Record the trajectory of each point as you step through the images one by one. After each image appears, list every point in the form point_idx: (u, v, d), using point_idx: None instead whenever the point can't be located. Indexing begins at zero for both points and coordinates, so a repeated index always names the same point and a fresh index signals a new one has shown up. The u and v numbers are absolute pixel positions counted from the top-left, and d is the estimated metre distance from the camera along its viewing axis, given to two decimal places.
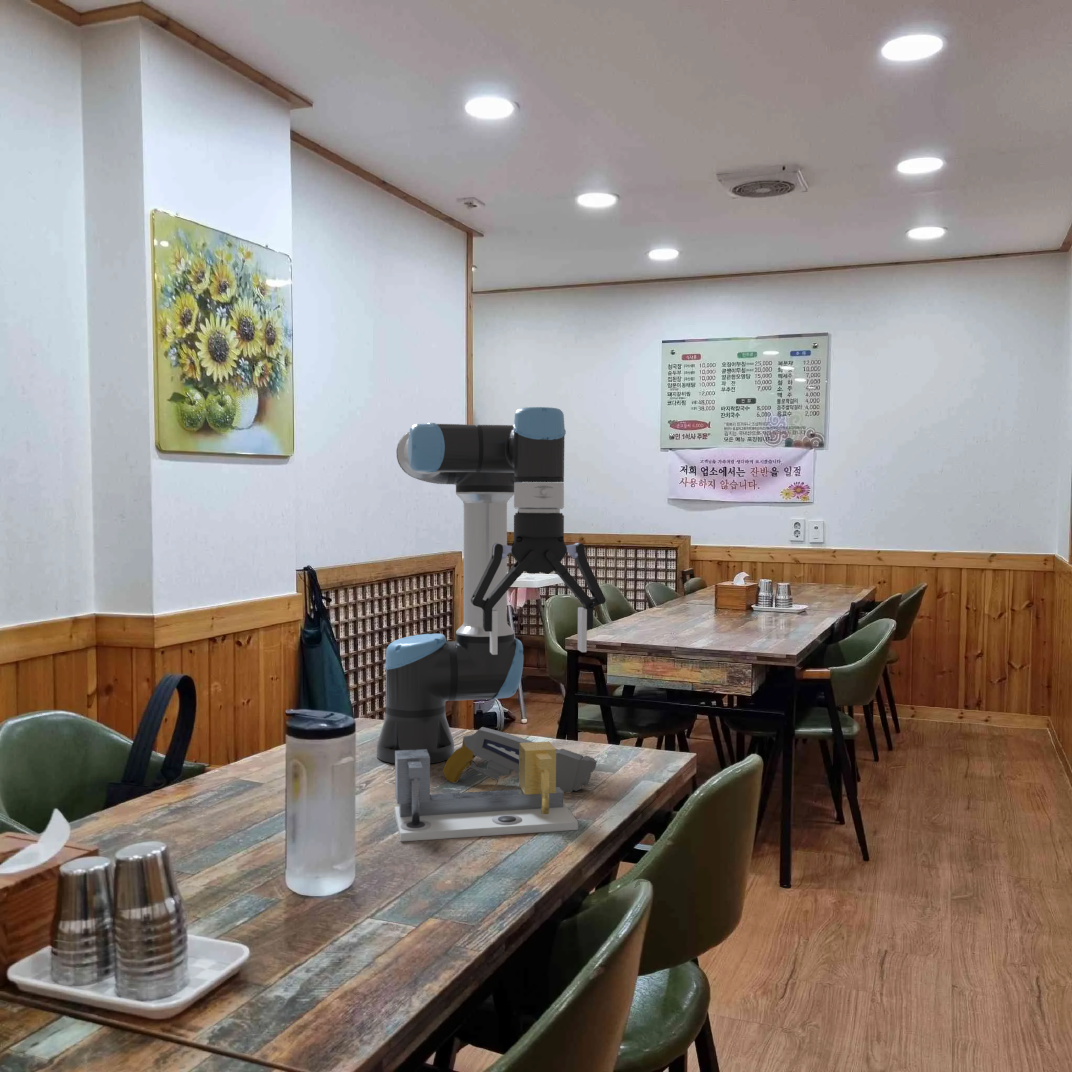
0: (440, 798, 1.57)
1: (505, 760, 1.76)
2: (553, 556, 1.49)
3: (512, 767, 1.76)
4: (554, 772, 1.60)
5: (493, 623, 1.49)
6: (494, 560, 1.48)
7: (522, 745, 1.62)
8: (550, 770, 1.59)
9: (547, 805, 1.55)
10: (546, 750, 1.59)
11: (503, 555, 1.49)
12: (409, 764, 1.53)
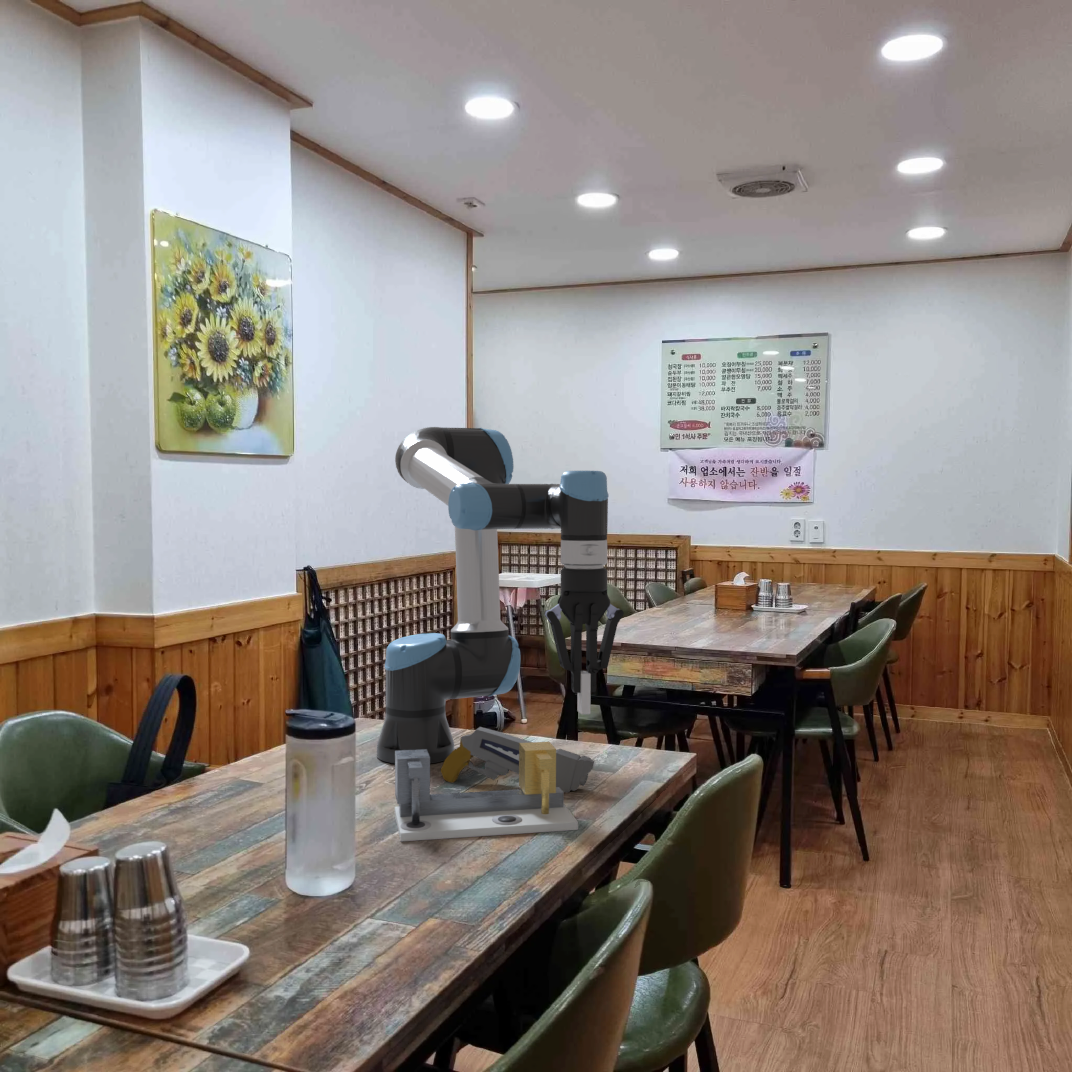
0: (440, 798, 1.57)
1: (503, 760, 1.76)
2: (598, 609, 1.60)
3: (510, 767, 1.76)
4: (554, 772, 1.60)
5: (582, 685, 1.61)
6: (555, 626, 1.60)
7: (522, 745, 1.62)
8: (550, 770, 1.59)
9: (547, 805, 1.55)
10: (546, 750, 1.59)
11: (558, 617, 1.60)
12: (409, 764, 1.53)
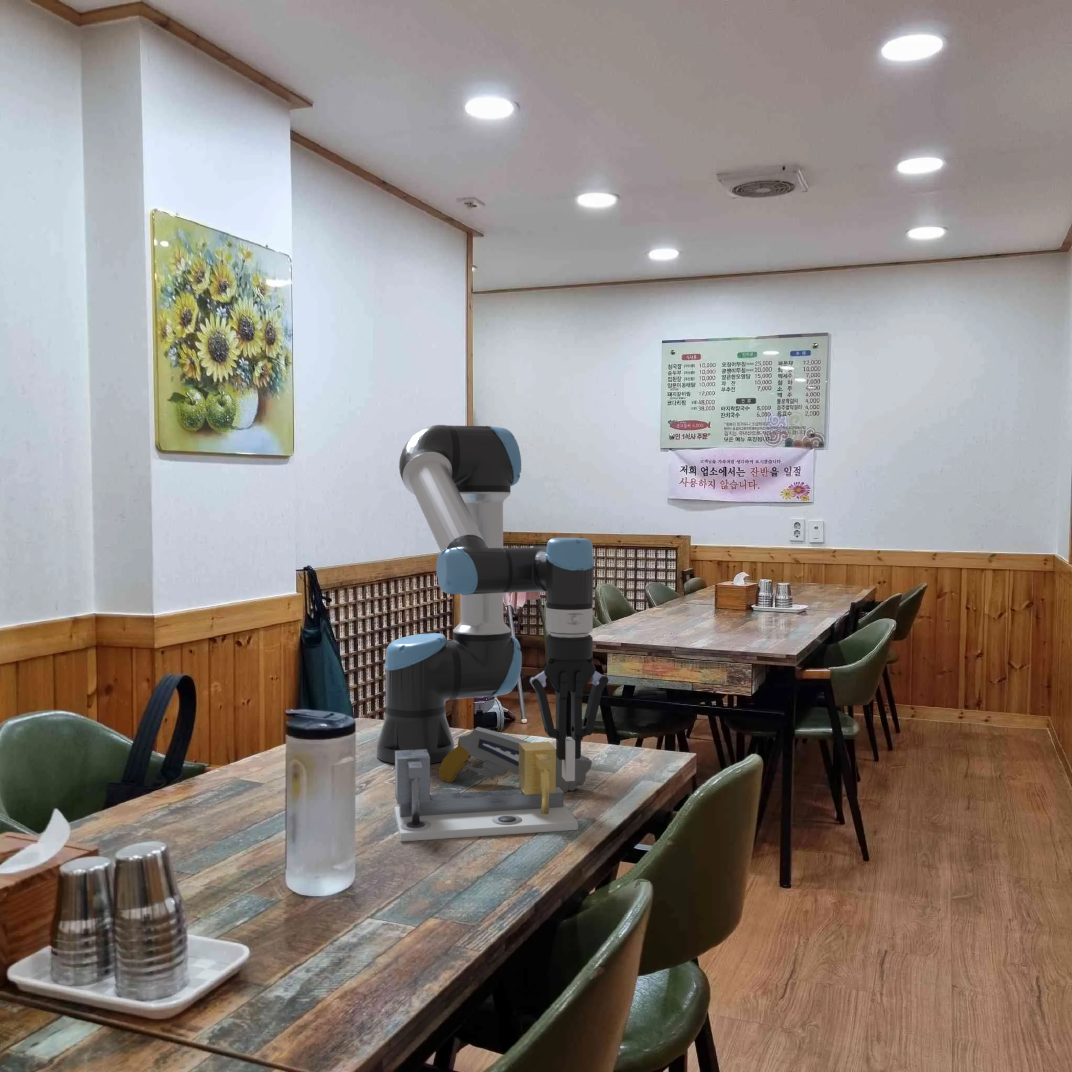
0: (440, 798, 1.57)
1: (501, 760, 1.76)
2: (583, 676, 1.60)
3: (507, 767, 1.76)
4: (554, 772, 1.59)
5: (566, 752, 1.61)
6: (540, 694, 1.60)
7: (522, 745, 1.62)
8: (550, 770, 1.59)
9: (547, 805, 1.55)
10: (546, 750, 1.59)
11: (543, 685, 1.60)
12: (409, 764, 1.53)
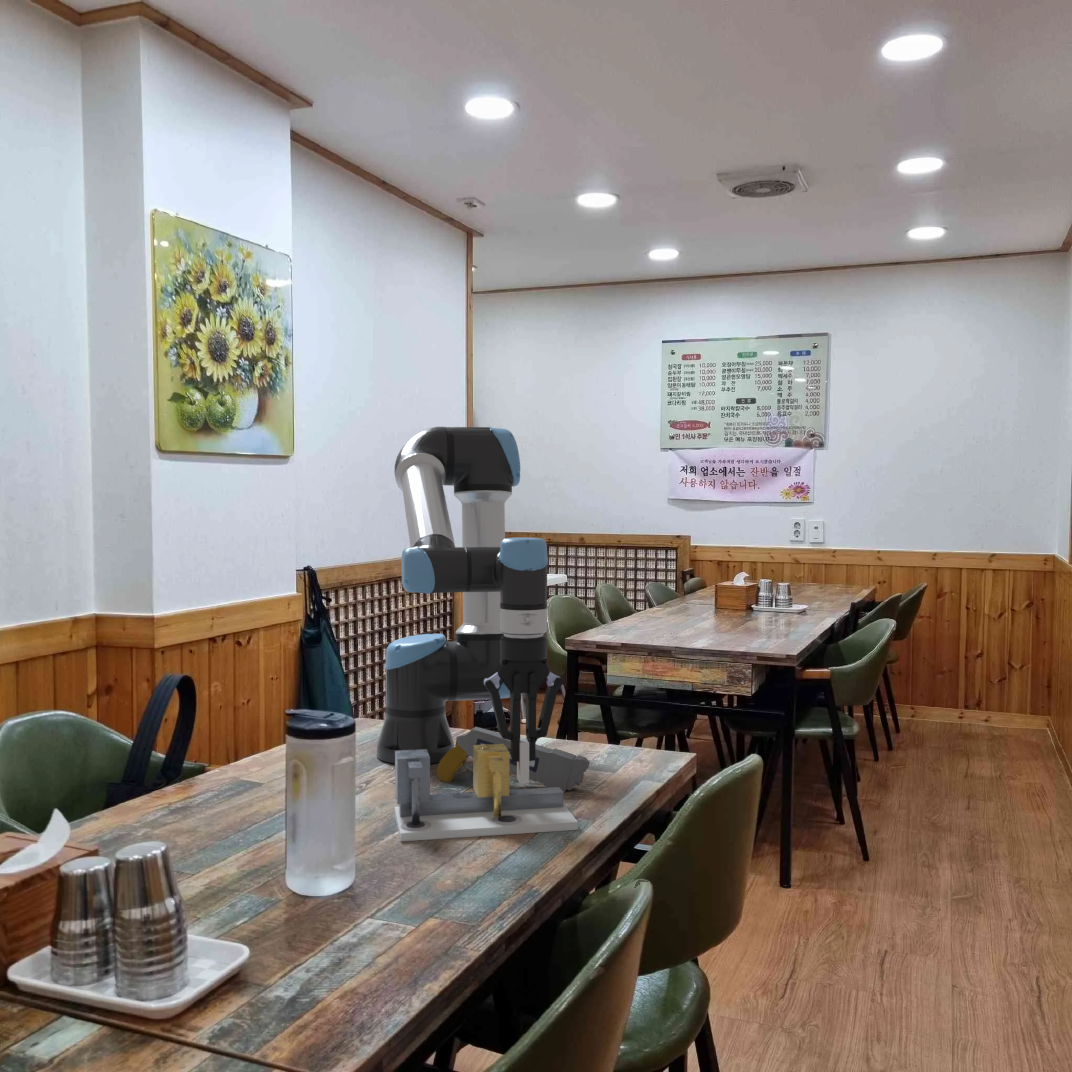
0: (440, 798, 1.57)
1: None
2: (537, 678, 1.59)
3: None
4: (507, 775, 1.58)
5: (521, 754, 1.59)
6: (493, 695, 1.58)
7: (476, 747, 1.60)
8: (503, 772, 1.58)
9: (499, 808, 1.54)
10: (499, 752, 1.58)
11: (496, 686, 1.58)
12: (409, 764, 1.53)
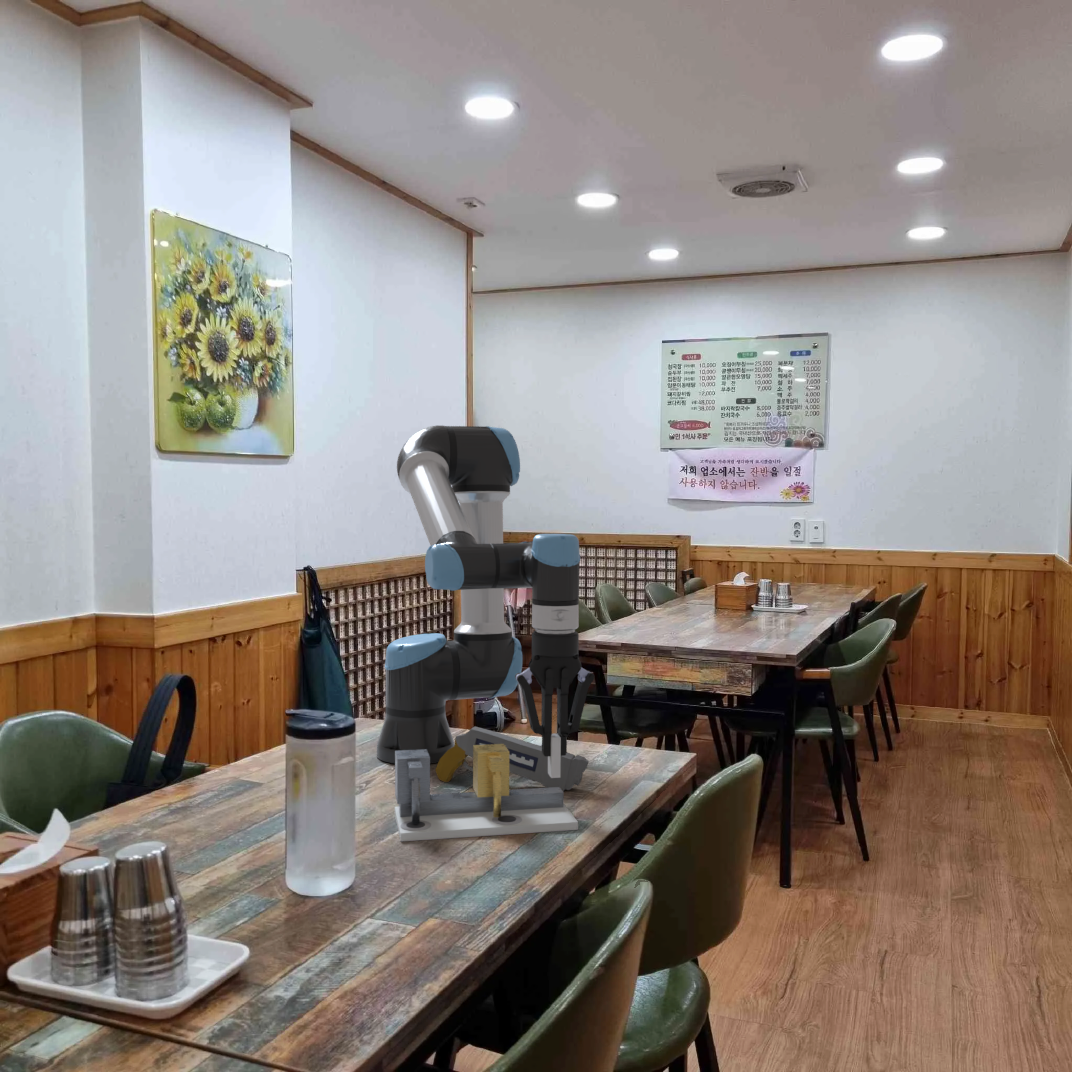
0: (440, 798, 1.57)
1: None
2: (568, 673, 1.60)
3: None
4: (507, 775, 1.58)
5: (552, 749, 1.61)
6: (525, 690, 1.59)
7: (476, 747, 1.60)
8: (503, 772, 1.58)
9: (499, 808, 1.54)
10: (499, 752, 1.58)
11: (528, 681, 1.59)
12: (409, 764, 1.53)
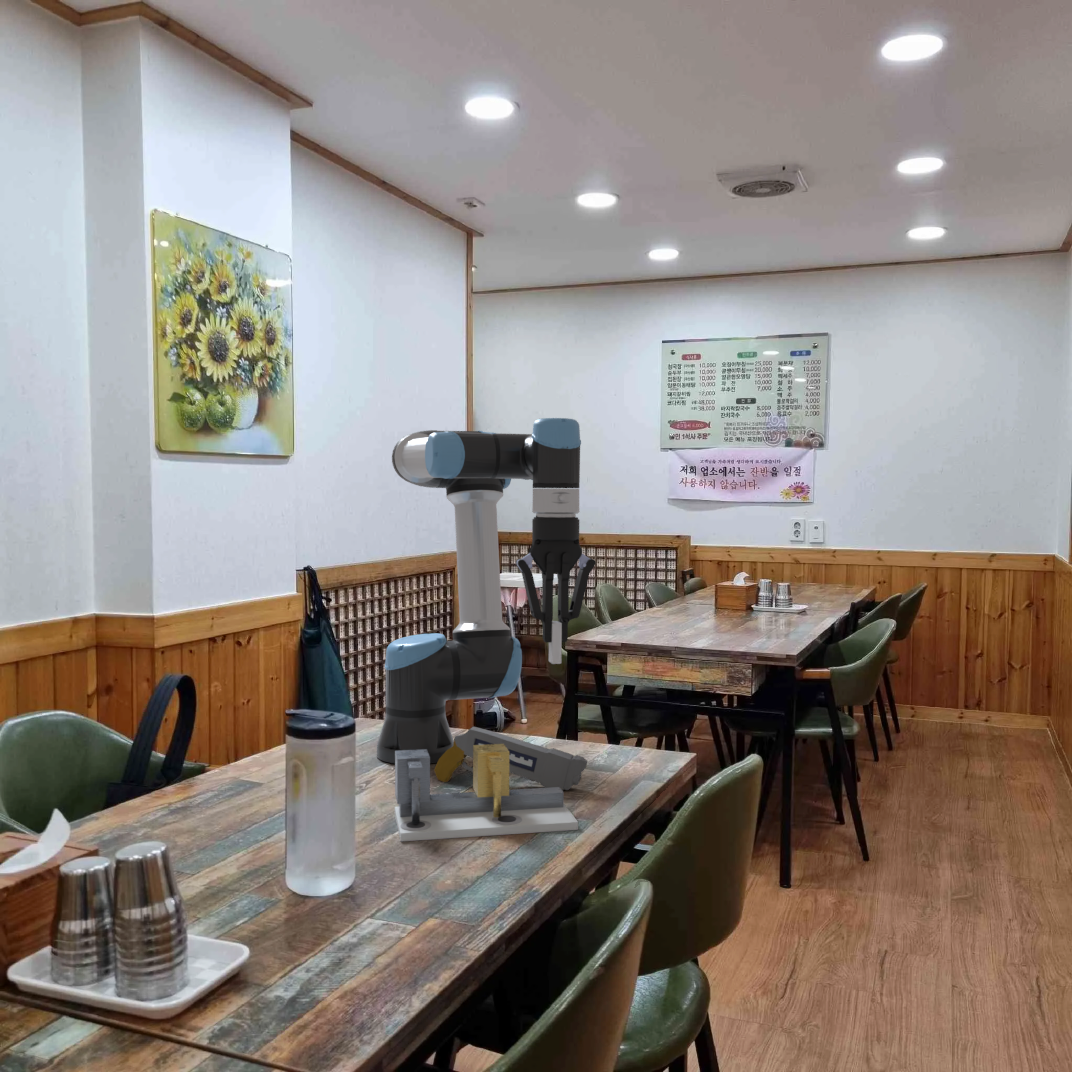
0: (440, 798, 1.57)
1: None
2: (569, 558, 1.59)
3: None
4: (507, 775, 1.58)
5: (553, 634, 1.60)
6: (526, 575, 1.59)
7: (476, 747, 1.60)
8: (503, 772, 1.58)
9: (499, 808, 1.54)
10: (499, 752, 1.58)
11: (529, 566, 1.59)
12: (409, 764, 1.53)
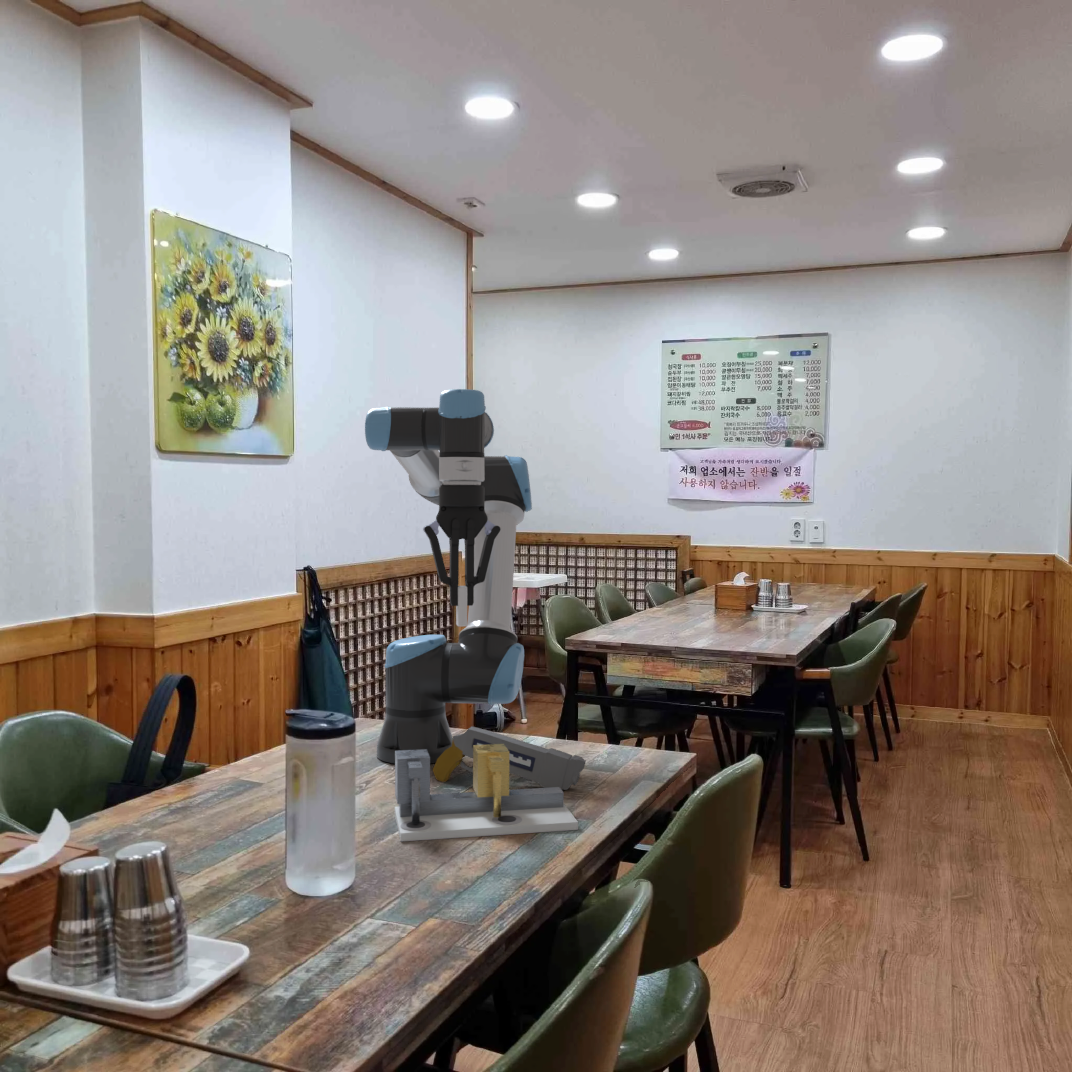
0: (440, 798, 1.57)
1: None
2: (474, 524, 1.65)
3: None
4: (507, 775, 1.58)
5: (459, 598, 1.66)
6: (432, 540, 1.65)
7: (476, 747, 1.60)
8: (503, 772, 1.58)
9: (499, 808, 1.54)
10: (499, 752, 1.58)
11: (435, 532, 1.65)
12: (409, 764, 1.53)
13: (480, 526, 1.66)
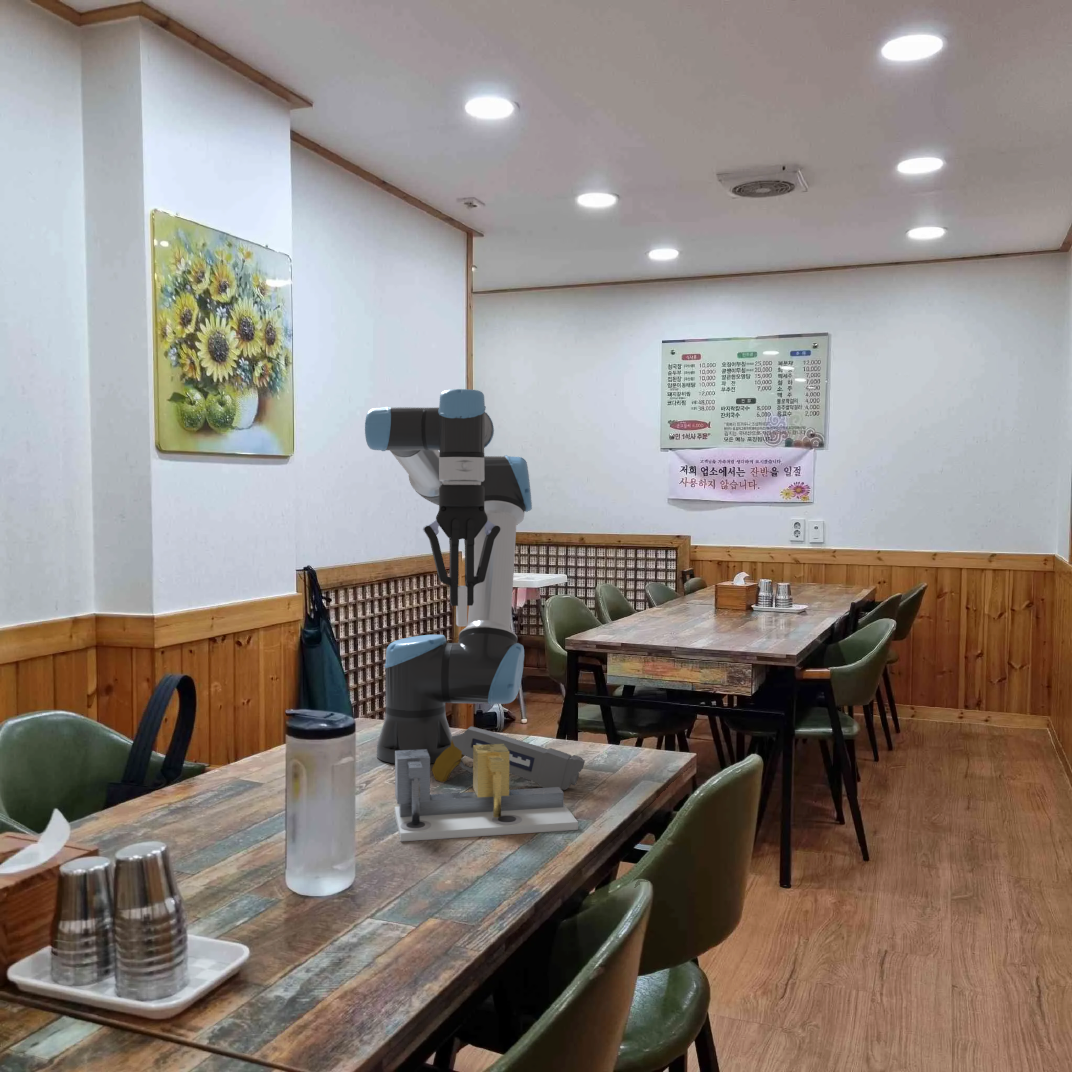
0: (440, 798, 1.57)
1: None
2: (474, 524, 1.65)
3: None
4: (507, 775, 1.58)
5: (459, 598, 1.66)
6: (432, 540, 1.65)
7: (476, 747, 1.60)
8: (503, 772, 1.58)
9: (499, 808, 1.54)
10: (499, 752, 1.58)
11: (435, 532, 1.65)
12: (409, 764, 1.53)
13: (480, 526, 1.66)
